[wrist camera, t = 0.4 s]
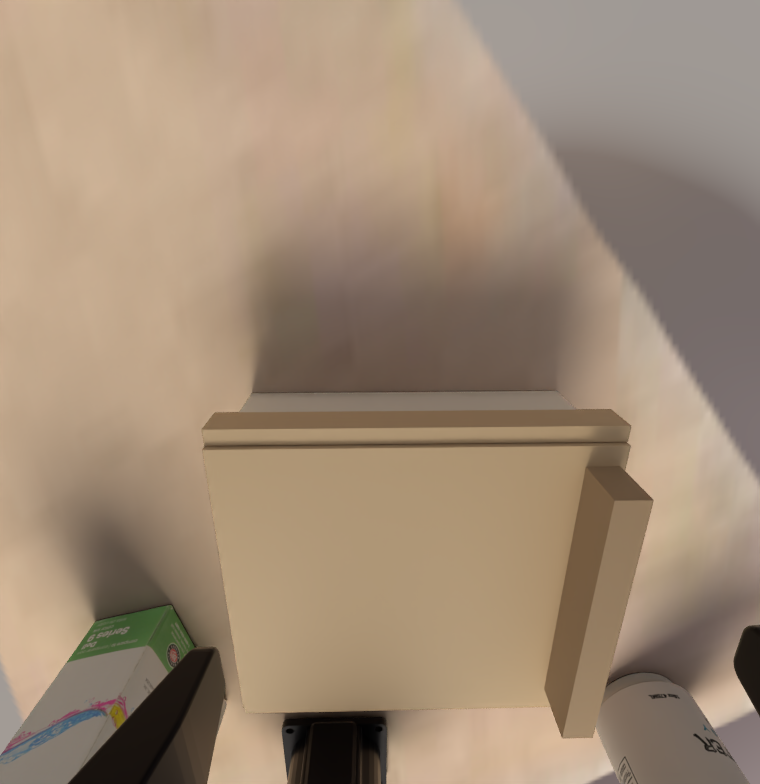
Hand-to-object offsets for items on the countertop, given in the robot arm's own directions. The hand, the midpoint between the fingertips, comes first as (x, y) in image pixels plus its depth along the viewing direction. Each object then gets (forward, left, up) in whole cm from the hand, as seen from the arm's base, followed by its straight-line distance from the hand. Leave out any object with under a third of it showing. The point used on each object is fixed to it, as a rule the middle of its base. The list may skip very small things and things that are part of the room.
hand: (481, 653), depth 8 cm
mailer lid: (-7, 0, -10) cm, 12 cm away
